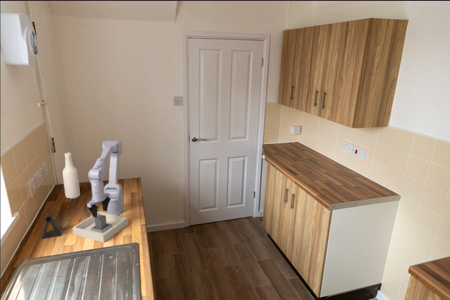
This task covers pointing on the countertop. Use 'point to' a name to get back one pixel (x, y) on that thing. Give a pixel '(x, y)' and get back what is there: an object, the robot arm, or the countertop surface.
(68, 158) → the alcohol
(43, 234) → the phone stand
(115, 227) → the box
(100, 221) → the grey rectangular block
